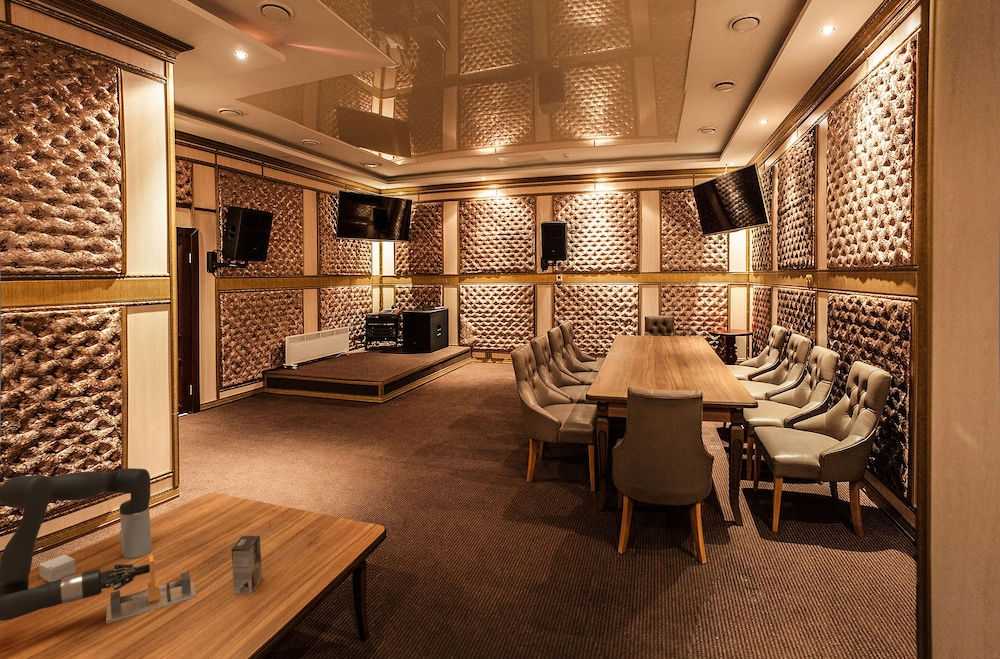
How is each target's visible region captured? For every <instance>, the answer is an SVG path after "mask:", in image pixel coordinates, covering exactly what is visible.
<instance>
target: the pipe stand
mask: <svg viewBox="0 0 1000 659" xmlns="http://www.w3.org/2000/svg"><path fill="white" fill-rule="evenodd" d="M159 595H160V599H157V600H153V601H150V602H149V600H148V588H147V589H143V590H140V591H135V592H132V593H129V594H126V595H121V590H115V591H113V592H110V604H109V605H107V606H106V620H105V623H106V625H108V624H111V623H112V624H113V623H114V622H117V621H121V620H124V619H128V618H131V617H134V616H137V615H140V614H141V615H142V614H143V613H147V612H151V611H154V610H158V609H160V608H164V607H167V606H171V605H173V604H177V603H179V602H180V603H181V602H183V601H186V600H187V601H188V600H190V599H193V598H197V592H196V587H195V582H194V580H193V581H191V576H190V571H189V570H188V571H184V572H182V573H180V579H178V580H174V581H170V582H167V583H164V584H161V585H160V584H159Z"/></svg>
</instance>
